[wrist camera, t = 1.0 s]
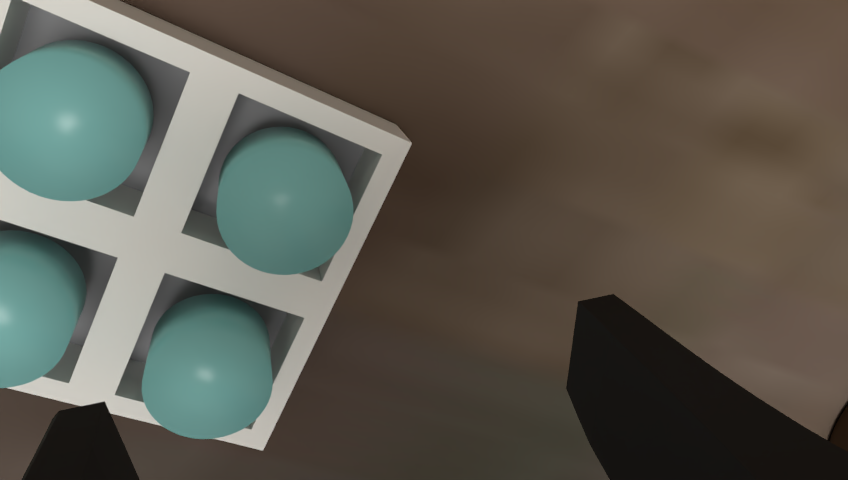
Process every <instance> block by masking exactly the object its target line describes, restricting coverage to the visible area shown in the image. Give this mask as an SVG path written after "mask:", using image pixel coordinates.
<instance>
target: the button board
mask: <svg viewBox="0 0 848 480" xmlns="http://www.w3.org/2000/svg"><path fill="white" fill-rule="evenodd" d="M62 40H82V41H88V42H92V43H96V44H99V45H102V46H105V47H107V48H109V49H111V50H113V51H114V52H116V53H117V54H119V55H121V56H122V57H123V58H125V59H126V60H127V61H128V62H129V63H130V64H131V65H132V66H133V67H134V68H135V69H136V70H137V71H138V73H139V74H140V75H141V77H142V78H143V80H144V82H145V83H146V85H147V87H148V90H149V92H150V95H151V99H152V103H153V110H154V119H153V126H152V130H151V133H150V136H149V138H148V140H147V143H146V145H145V147H144V149H143V151H142V154H141V156H140V158H139V160H138V162H137V164H136V166H135V168H134V170H133V171H132V173H131V174H130V175H129V176H128V177H127V179H126V180H125V181H124V182H123V183H121V184H120V185H119V186H118V187H116V188H115V189H113V190H112V191H110V192H108V193H106V194H104V195H102V196H99V197H96V198H92V199H88V200H83V201H58V200H52V199H48V198H44V197H41V196H38V195H35V194H33V193H30V192H28V191H26V190H25V189H23V188H21V187H19V186H18V185H16V184H15V183H13V182H12V181H11V180H9V179H8V178H7V177H6V176H5V175H4V174H3V173H2V172H1V171H0V231H7V230H16V231H25V232H30V233H34V234H38V235H41V236H43V237H46V238H48V239H50V240H52V241H54V242H55V243H57V244H58V245H60V246H61V247H63V248H64V249H65V250H66V251H67V252H69V253H70V255H71V256H72V257H73V258H74V259H75V260H76V262H77V263H78V265H79V266H80V268H81V270H82V272H83V275H84V278H85V282H86V291H87V294H86V301H85V305H84V308H83V310H82V313H81V315H80V317H79V320H78V322H77V325H76V327H75V329H74V332H73V334H72V336H71V339H70V341H69V344H68V346H67V348H66V350H65V352H64V355H63V356H62V358H61V359H60V361H59V362H58V363H57V364H56V365H55V366H54V368H53V369H51V370H50V371H49V372H48V373H46V374H45V375H43V376H42V377H40V378H38V379H36V380H34V381H32V382H29V383H26V384H23V385H19V386H15V387H8V388H9V389H13V390H17V391H22V392H26V393H30V394H34V395H38V396H42V397H46V398H50V399H54V400H58V401H62V402H66V403H70V404H75V405H79V406H85V405H90V404H94V403H99V402H104V401H105V403H106V405H107V408H108V410H109V412H110V413H111V414H115V415H119V416H124V417H128V418H132V419H136V420H140V421H144V422H148V423H152V424H156V425H160V424H159V423H158V422H157V421H156V420H155V419H154V418H153V417H152V416H151V414H150V413H149V411H148V410H147V408H146V406H145V403H144V400H143V396H142V379H143V374H144V369H145V365H146V360H147V356H148V351H149V347H150V342H151V337H152V334H153V331H154V328H155V326H156V324H157V322H158V321H159V319H160V318H161V316H162V315H163V314H164V313H165V312H166V311H167V310H168V309H169V308H171V307H172V306H173V305H175V304H177V303H178V302H180V301H182V300H184V299H187V298H190V297H193V296H197V295H202V294H221V295H227V296H231V297H234V298H237V299H239V300H241V301H243V302H245V303H247V304H248V305H249V306H251V307H252V308H253V309H254V310H255V311H257V312H258V314H259V315H260V316H261V317H262V319H263V321H264V322H265V324H266V327H267V329H268V333H269V340H270V353H271V367H272V380H273V385H272V393H271V397H270V399H269V402H268V404H267V406H266V407H265V409H264V411H263V412H262V413H261V414H260V416H259V417H258V418H257V419H256V420H255V421H253V422H252V423H251V424H250V425H248V426H247V427H245V428H244V429H242V430H240V431H238V432H236V433H233V434H231V435H228V436H224V437H220V438H213V439H217V440H221V441H226V442H230V443H234V444H238V445H242V446H246V447H250V448H254V449H258V450H262V451H263V449H264V447H265V445H266V443H267V441H268V439H269V437H270V435H271V433H272V431H273V429H274V427H275V425H276V423H277V421H278V419H279V416H280V414H281V412H282V410H283V408H284V406H285V404H286V402H287V400H288V398H289V396H290V394H291V392H292V390H293V388H294V386H295V383H296V381H297V379H298V377H299V375H300V373H301V371H302V369H303V367H304V365H305V363H306V361H307V359H308V357H309V355H310V353H311V350H312V348H313V346H314V344H315V342H316V340H317V338H318V336H319V334H320V332H321V330H322V328H323V326H324V324H325V322H326V320H327V318H328V315H329V313H330V311H331V309H332V307H333V305H334V303H335V301H336V299H337V297H338V295H339V293H340V291H341V289H342V287H343V285H344V282H345V280H346V278H347V276H348V274H349V272H350V270H351V268H352V266H353V264H354V262H355V260H356V258H357V256H358V254H359V252H360V249H361V247H362V245H363V243H364V241H365V239H366V237H367V235H368V233H369V231H370V229H371V227H372V225H373V223H374V221H375V219H376V217H377V214H378V212H379V210H380V208H381V206H382V204H383V202H384V200H385V198H386V196H387V194H388V192H389V190H390V188H391V186H392V184H393V181H394V179H395V177H396V175H397V173H398V171H399V169H400V167H401V165H402V163H403V161H404V159H405V157H406V155H407V153H408V151H409V148H410V146H411V144H412V142H411V141H410V140H409V139H408V138H407V136H406V135H405V134H404V133H403V132H402V131H401V129H400V128H399V127H398V126H397V125H396V124H394V123H392V122H390V121H388V120H385V119H383V118H381V117H379V116H376V115H374V114H372V113H370V112H368V111H365V110H363V109H361V108H359V107H356V106H354V105H352V104H350V103H347V102H345V101H343V100H341V99H339V98H336V97H334V96H332V95H330V94H327V93H325V92H323V91H321V90H318V89H316V88H314V87H312V86H310V85H307V84H305V83H303V82H301V81H298V80H296V79H294V78H292V77H289V76H287V75H285V74H283V73H281V72H278V71H276V70H274V69H272V68H269V67H267V66H265V65H263V64H260V63H258V62H256V61H254V60H252V59H249V58H247V57H245V56H243V55H240V54H238V53H236V52H234V51H232V50H229V49H227V48H225V47H223V46H220V45H218V44H216V43H214V42H211V41H209V40H207V39H205V38H203V37H200V36H198V35H196V34H194V33H191V32H189V31H187V30H185V29H182V28H180V27H178V26H176V25H174V24H171V23H169V22H167V21H165V20H162V19H160V18H158V17H156V16H153V15H151V14H149V13H147V12H145V11H142V10H140V9H138V8H136V7H133V6H131V5H129V4H127V3H124V2H122V1H120V0H0V70H1V69H2V68H3V67H5V66H7V65H8V64H10V63H11V62H13V61H15V60H17V59H19V58H20V57H22V56H24V55H26V54H28V53H30V52H32V51H33V50H35V49H37V48H39V47H41V46H44V45H46V44H49V43H52V42H56V41H62ZM270 127H291V128H296V129H300V130H303V131H306V132H308V133H310V134H312V135H314V136H315V137H316V138H318V139H319V140H321V141H322V142H323V143H324V144H325V145H326V146H327V147H328V148H329V149H330V150H331V152H332V153H333V155H334V156H335V158H336V160H337V162H338V164H339V167H340V169H341V171H342V173H343V176H344V178H345V180H346V183H347V185H348V187H349V190H350V193H351V196H352V201H353V221H352V225H351V229H350V232H349V234H348V237H347V238H346V240H345V242H344V244H343V245H342V246H341V248H340V249H339V250H338V251H337V252H336V254H335V255H334V256H333V257H331V258H330V259H329V260H328V261H326V262H325V263H323V264H322V265H320V266H318V267H316V268H314V269H312V270H309V271H306V272H303V273H298V274H291V275H276V274H269V273H266V272H262V271H259V270H257V269H254V268H252V267H250V266H248V265H247V264H245V263H243V262H242V261H241V260H239V259H238V258H237V257H236V256H235V255H234V254H233V253H232V252H231V251H230V249H229V248H228V247H227V245H226V244H225V242H224V240H223V239H222V236H221V234H220V231H219V228H218V224H217V216H216V209H217V195H218V184H219V176H220V170H221V167H222V165H223V162H224V160H225V158H226V156H227V155H228V153H229V152H230V150H231V149H232V148H233V147H234V146H235V145H236V144H237V143H238V142H239V141H240V140H242V139H243V138H244V137H246V136H248V135H249V134H251V133H254V132H256V131H258V130H261V129H265V128H270ZM160 426H162V425H160Z"/></svg>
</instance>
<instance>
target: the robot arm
mask: <svg viewBox="0 0 848 480" xmlns="http://www.w3.org/2000/svg"><path fill="white" fill-rule="evenodd" d="M566 389H567V391H568V393H569V396H570V398H571V401H572V403H573V406H574V408H575V411H576V413H577V415H578V418H579V420H580V423H581V425H582V427H583V429H584V432H585V434H586V436H587V439H588V441H589V443H590V445H591V447H592V449H593V451H594V452H595V454H596V456H597V458H598V459H599V461H600V463H601V465H602V466H603V468H604V470H605V472H606V473H607V475H608V477H609V479H610V480H848V452H847V451H846V450H844V449H842V448H840V447H838V446H836V445H835V444H833V443H831V442H829V441H827V440H826V439H824V438H822V437H820V436H819V435H817V434H815V433H814V432H812V431H810V430H808V429H807V428H805V427H803V426H802V425H800V424H798V423H797V422H795V421H794V420H792V419H791V418H789V417H787V416H786V415H784V414H783V413H781V412H779V411H778V410H776V409H775V408H773V407H771V406H770V405H768V404H767V403H765V402H764V401H762V400H760V399H759V398H757V397H756V396H754V395H753V394H751V393H750V392H748V391H747V390H745V389H744V388H742V387H741V386H739V385H738V384H736V383H735V382H733V381H732V380H731V379H729V378H728V377H726V376H725V375H723V374H722V373H720V372H719V371H718V370H716V369H715V368H713V367H712V366H710V365H709V364H708V363H706V362H705V361H703V360H702V359H701V358H699V357H698V356H696V355H695V354H694V353H692V352H691V351H690V350H688V349H687V348H685V347H684V346H683V345H681V344H680V343H679V342H677V341H676V340H675V339H673V338H672V337H671V336H669V335H668V334H666V333H665V332H664V331H662V330H661V329H660V328H658V327H657V326H656V325H654V324H653V323H652V322H650V321H649V320H648V319H646V318H645V317H644V316H642V315H641V314H640V313H638V312H637V311H636V310H634V309H633V308H632V307H630V306H629V305H628V304H626V303H625V302H623V301H622V300H621V299H619V298H618V297H617V296H615V295H614V294H612V295H607V296H602V297H598V298H593V299H588V300H583V301H579V302H578V307H577V314H576V322H575V329H574V336H573V344H572V351H571V358H570V365H569V373H568V380H567V387H566ZM22 480H139V477H138V475H137V473H136V471H135V468H134V466H133V464H132V462H131V459H130V457H129V455H128V453H127V450H126V448H125V446H124V444H123V441H122V439H121V437H120V435H119V432H118V430H117V428H116V426H115V423H114V421H113V419H112V417H111V414H110V412H109V410H108V408H107V405H106V403H105V401H104V402H99V403H94V404H90V405H85V406H80V407H75V408H71V409H66V410H61V411H59V412H58V413H57V414H56V415H55V416H54V418H53V419H52V421H51V423H50V425H49V427H48V429H47V431H46V433H45V435H44V437H43V439H42V441H41V443H40V445H39V447H38V449H37V451H36V453H35V455H34V457H33V459H32V461H31V463H30V465H29V467H28V468H27V470H26V472H25V474H24V476H23V478H22Z"/></svg>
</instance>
